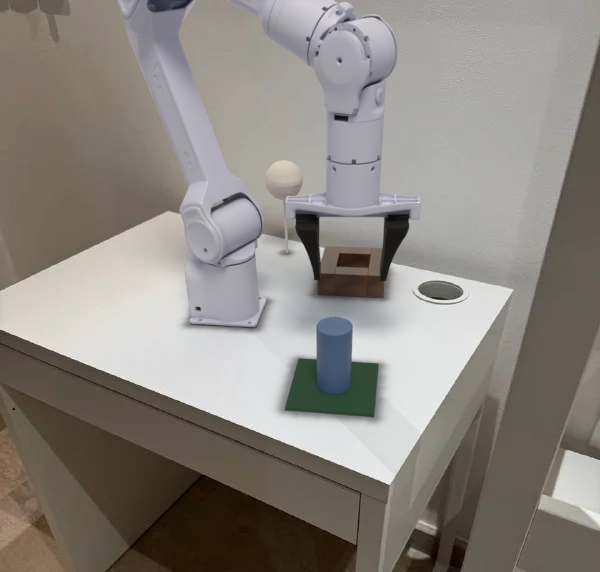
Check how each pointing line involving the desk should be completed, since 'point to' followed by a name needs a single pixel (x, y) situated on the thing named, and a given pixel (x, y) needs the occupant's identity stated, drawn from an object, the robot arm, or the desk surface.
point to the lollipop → (284, 184)
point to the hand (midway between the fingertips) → (350, 276)
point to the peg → (334, 354)
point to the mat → (348, 403)
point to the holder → (351, 272)
